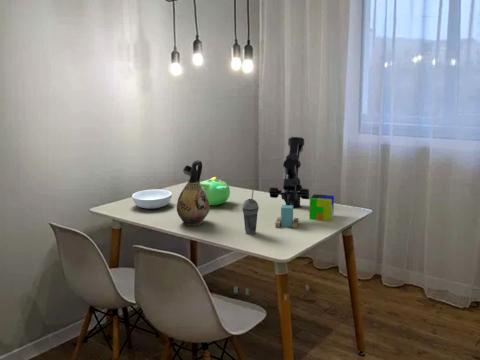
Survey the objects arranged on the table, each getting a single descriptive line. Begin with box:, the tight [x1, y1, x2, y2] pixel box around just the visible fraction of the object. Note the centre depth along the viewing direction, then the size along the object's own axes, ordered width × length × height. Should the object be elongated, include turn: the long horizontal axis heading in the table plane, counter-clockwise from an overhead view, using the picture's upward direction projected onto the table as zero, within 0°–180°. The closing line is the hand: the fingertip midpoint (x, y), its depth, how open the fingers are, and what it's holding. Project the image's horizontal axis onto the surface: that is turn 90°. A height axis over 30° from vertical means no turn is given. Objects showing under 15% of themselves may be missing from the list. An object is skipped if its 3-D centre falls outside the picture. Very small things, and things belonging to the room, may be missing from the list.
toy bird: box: [200, 176, 231, 206], centre depth 258 cm, size 18×17×15 cm
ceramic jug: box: [176, 159, 210, 227], centre depth 226 cm, size 17×15×30 cm
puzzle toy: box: [309, 193, 335, 221], centre depth 235 cm, size 10×10×10 cm
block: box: [280, 204, 294, 228], centre depth 223 cm, size 5×5×9 cm
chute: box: [275, 216, 299, 229], centre depth 224 cm, size 9×10×2 cm
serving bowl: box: [131, 189, 173, 210], centre depth 257 cm, size 21×21×7 cm
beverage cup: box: [241, 188, 260, 236], centre depth 212 cm, size 7×7×20 cm
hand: (287, 208), depth 225 cm, fingers closed, pressing on block
